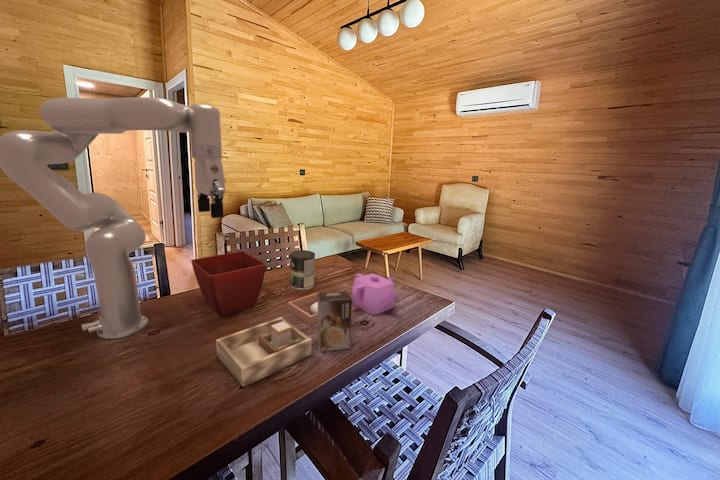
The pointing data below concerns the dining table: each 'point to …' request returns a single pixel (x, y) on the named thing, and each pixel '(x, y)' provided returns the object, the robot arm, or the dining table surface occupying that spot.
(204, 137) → the robot arm
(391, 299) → the teakettle
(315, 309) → the garlic
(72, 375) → the dining table surface
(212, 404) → the dining table surface
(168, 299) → the dining table surface
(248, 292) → the plant pot
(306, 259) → the coffee can
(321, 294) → the coffee box
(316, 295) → the garlic dish
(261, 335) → the walled box
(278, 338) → the small white lidded box
